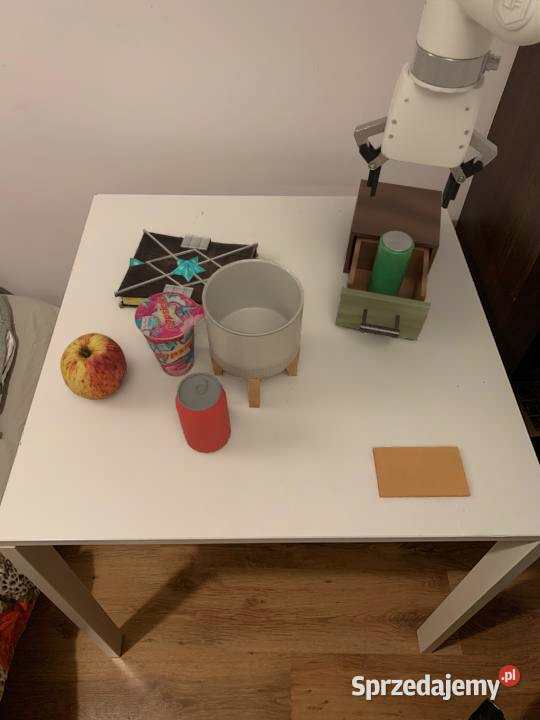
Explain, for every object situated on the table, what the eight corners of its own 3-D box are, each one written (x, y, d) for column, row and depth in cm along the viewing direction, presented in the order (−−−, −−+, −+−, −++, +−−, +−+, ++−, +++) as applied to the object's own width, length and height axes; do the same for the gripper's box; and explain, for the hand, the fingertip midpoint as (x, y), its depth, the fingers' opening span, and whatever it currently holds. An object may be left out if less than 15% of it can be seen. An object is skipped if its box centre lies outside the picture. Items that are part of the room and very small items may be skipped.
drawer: (415, 360, 77) (429, 330, 71) (331, 344, 79) (337, 313, 72) (421, 281, 87) (434, 247, 80) (346, 268, 89) (353, 234, 82)
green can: (398, 286, 85) (416, 232, 75) (395, 308, 82) (413, 255, 72) (368, 281, 85) (381, 226, 75) (364, 303, 82) (378, 249, 72)
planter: (210, 407, 73) (197, 334, 58) (217, 338, 80) (206, 258, 66) (297, 408, 73) (305, 335, 58) (295, 339, 80) (302, 259, 66)
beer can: (236, 419, 72) (232, 375, 62) (222, 460, 68) (215, 419, 58) (194, 408, 73) (183, 363, 63) (178, 448, 69) (164, 406, 59)
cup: (164, 394, 74) (148, 347, 64) (142, 355, 78) (125, 305, 68) (218, 368, 77) (212, 320, 67) (195, 332, 81) (186, 281, 71)
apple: (122, 415, 72) (103, 379, 64) (63, 407, 73) (38, 370, 65) (140, 365, 77) (126, 325, 69) (86, 358, 78) (64, 317, 70)
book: (258, 256, 91) (258, 235, 87) (240, 326, 82) (239, 306, 78) (146, 242, 93) (141, 221, 89) (116, 308, 84) (108, 288, 80)
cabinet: (423, 286, 87) (439, 245, 80) (342, 272, 89) (350, 231, 81) (427, 233, 96) (442, 191, 88) (353, 221, 97) (361, 179, 89)
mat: (456, 448, 70) (458, 446, 69) (469, 496, 66) (470, 495, 65) (372, 449, 69) (373, 447, 69) (379, 497, 65) (380, 496, 65)
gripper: (528, 56, 54) (473, 190, 68) (371, 37, 56) (349, 170, 70) (532, 90, 49) (473, 225, 63) (362, 68, 52) (341, 203, 66)
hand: (408, 196), depth 67 cm, fingers open, 9 cm apart
